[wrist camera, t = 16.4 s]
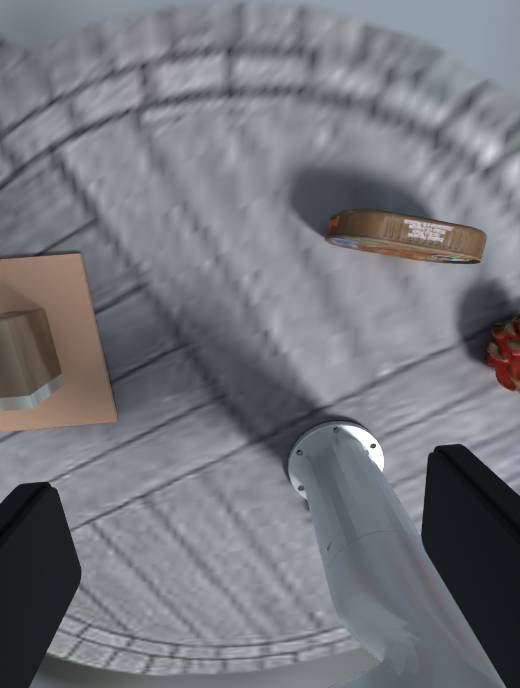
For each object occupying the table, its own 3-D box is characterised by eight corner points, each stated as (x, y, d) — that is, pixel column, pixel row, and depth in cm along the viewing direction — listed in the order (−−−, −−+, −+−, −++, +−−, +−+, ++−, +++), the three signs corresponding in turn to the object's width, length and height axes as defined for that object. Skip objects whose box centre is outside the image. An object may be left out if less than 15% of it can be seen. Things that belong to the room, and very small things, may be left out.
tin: (316, 242, 36) (337, 241, 28) (322, 212, 35) (346, 202, 27) (445, 265, 37) (501, 270, 29) (454, 236, 36) (514, 233, 28)
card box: (44, 308, 36) (6, 320, 30) (64, 384, 38) (33, 408, 33) (7, 311, 36) (-38, 324, 30) (30, 387, 38) (-8, 411, 33)
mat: (118, 419, 41) (116, 421, 40) (4, 429, 40) (1, 432, 40) (81, 253, 35) (78, 253, 34) (-53, 263, 35) (-57, 263, 34)
